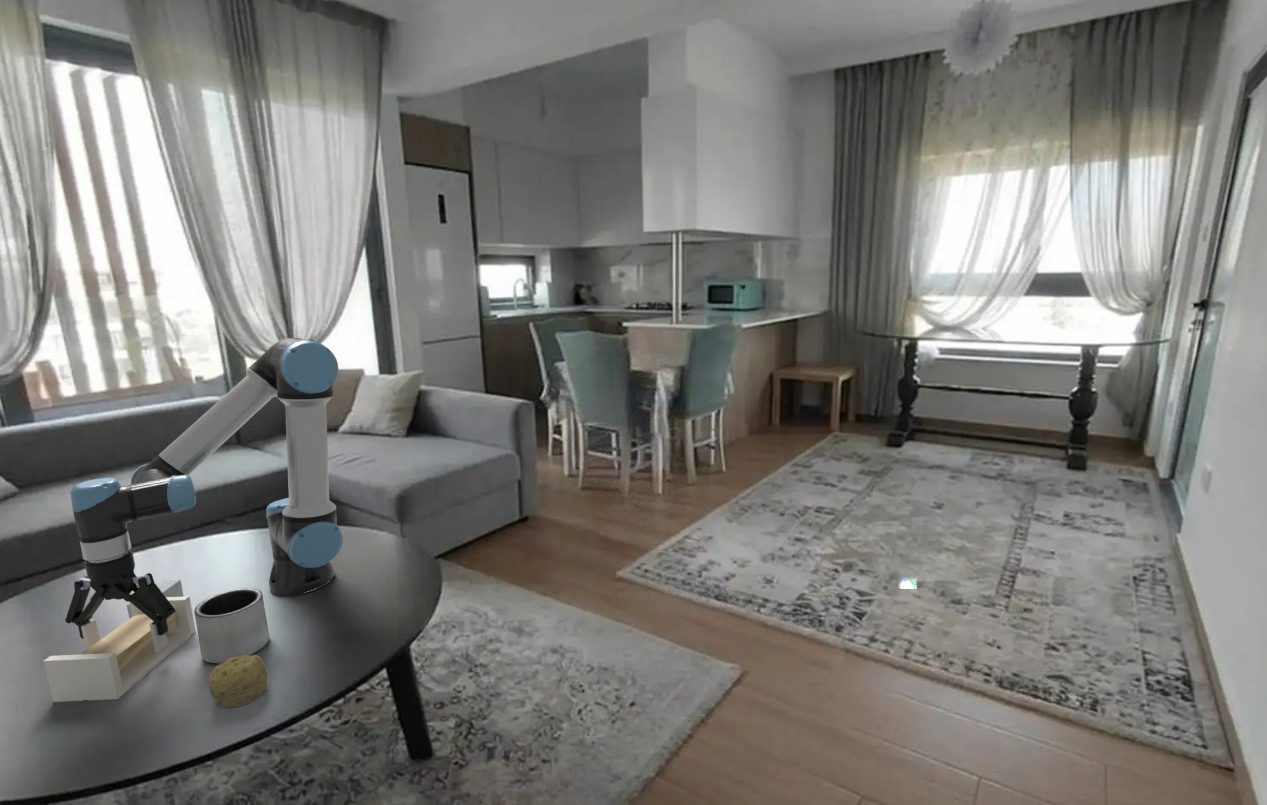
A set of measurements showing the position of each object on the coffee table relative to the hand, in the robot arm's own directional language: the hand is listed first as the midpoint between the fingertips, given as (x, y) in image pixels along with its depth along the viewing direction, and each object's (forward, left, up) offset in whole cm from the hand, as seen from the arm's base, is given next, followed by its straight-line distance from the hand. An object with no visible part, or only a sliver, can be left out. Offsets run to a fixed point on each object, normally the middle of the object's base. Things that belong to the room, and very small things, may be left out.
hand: (128, 649), depth 130 cm
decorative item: (-29, +12, -4) cm, 32 cm away
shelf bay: (0, 0, -3) cm, 3 cm away
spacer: (+10, -22, -3) cm, 24 cm away
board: (0, 0, 0) cm, 0 cm away
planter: (-19, -4, -4) cm, 20 cm away
